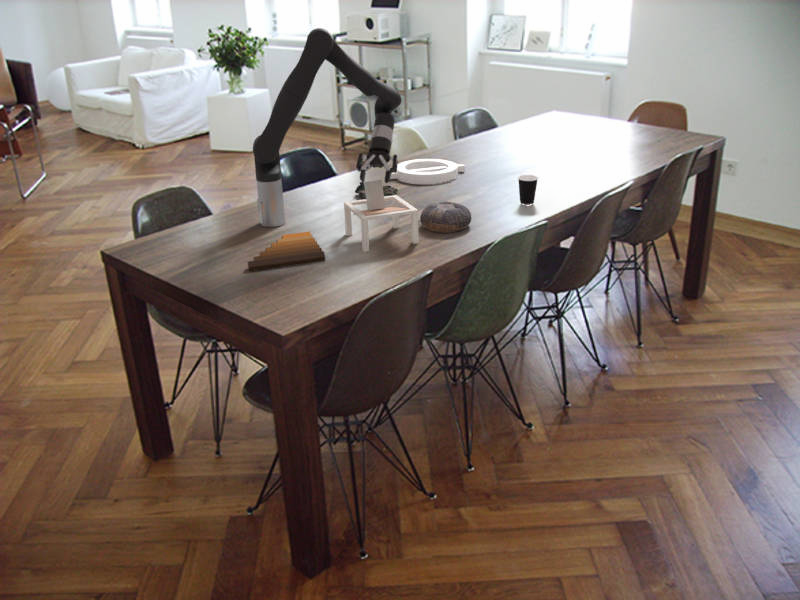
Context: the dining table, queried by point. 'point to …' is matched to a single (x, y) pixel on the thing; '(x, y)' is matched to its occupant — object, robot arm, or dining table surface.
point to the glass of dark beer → (527, 188)
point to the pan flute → (289, 252)
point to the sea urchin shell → (445, 217)
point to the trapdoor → (382, 210)
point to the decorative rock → (386, 190)
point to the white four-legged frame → (395, 217)
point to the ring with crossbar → (427, 171)
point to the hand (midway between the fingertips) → (374, 181)
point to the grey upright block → (374, 195)
